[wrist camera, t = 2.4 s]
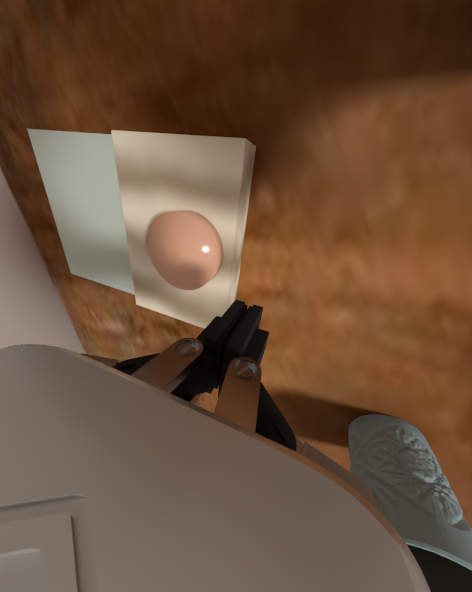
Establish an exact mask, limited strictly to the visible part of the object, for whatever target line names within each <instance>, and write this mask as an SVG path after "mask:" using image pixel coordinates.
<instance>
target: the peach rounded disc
mask: <svg viewBox="0 0 472 592" xmlns="http://www.w3.org/2000/svg"><path fill="white" fill-rule="evenodd" d="M147 246H148V252H149V256H150V259H151V261H152V263H153V265H154V267H155V269H156V270H157V272H158V273H159V274H160V276H161V277H162V278H163V279H164V280H165V281H167V282H168V283H169V284H171V285H172V286H174V287H176V288H179V289H182V290H196V289H199V288H201V287H202V286H204V285H205V284H207V283H208V282H209V281H211V280H212V279H213V278H214V277H215V276H216V275H217V274H218V273H219V271H220V269H221V266H222V263H223V253H224V252H223V245H222V241H221V238H220V236H219V234H218V232H217V230H216V228H215V227H214V226H213V224H212V223H211V222H210V221H209V220H208V219H207V218H205V217H204V216H203V215H201V214H199V213H197V212H194V211H190V210H180V211H169V212H165V213H163V214H161V215H159V216H158V217H157V218H156V219H155V220H154V221H153V222H152V224H151V226H150V228H149V232H148V237H147Z"/></svg>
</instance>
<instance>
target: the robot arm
mask: <svg viewBox="0 0 472 592" xmlns="http://www.w3.org/2000/svg"><path fill="white" fill-rule="evenodd" d="M262 311H263V307H260V306H257V305H253V307H251V306H249V308H248V309H247V305H245V302H243V301H239V300H235V301H234V302H233V303H232V305H231V306H230V307H229V308H228V309H227V311H226V312H225V313H224V314H223V315H222V317H219V316H216V317H215V318H214V319H213V320H212V321H211V322H210V324H209V325H208V326H207V327H206V328H205V329H204V330H203V331H202V333H201V334H200V335H199V336H198V337H197V338H196V339H195V338H183V339H179V340H178V341H176V342H175V343H173V344H172V345H171V346H169V347H168V348H167V349H165V350H164V351H162V352H161V353H158V354H153V355H148V356H143V357H138V358H133V359H128V360H125V361H122V362H120V363H119V360H116V359H110V358H104V357H99V356H93V355H87V354H78V353H76V352H73V351H70V350H67V349H62V348H59V347H53V346H48V345H35V344H25V345H14V346H9V347H5V348H3V349H0V592H431V591H430V588H429V586H428V584H427V582H426V580H425V577H424V575H423V573H422V571H421V569H420V567H419V565H418V563H417V561H416V559H415V558H414V556H413V554H412V552H411V550H410V549H409V547H408V546H407V544H406V543H405V541H404V540H403V539H402V537H401V536H400V535H399V534H398V532H397V531H396V530H395V529H394V527H393V526H392V525H391V524H390V523H389V522H388V521H387V520H386V518H385V517H384V516H383V515H382V514H381V513H380V512H379V506H378V504H377V502H376V499H375V497H374V495H373V494H372V492H371V491H370V490H369V488H368V487H367V485H365V484H364V483H363V482H362V481H361V480H360V479H359V478H357V477H356V476H354V475H353V474H351V473H350V472H349V471H347V470H346V469H344V468H343V467H341V466H340V465H339V464H337V463H336V462H334V461H333V460H331V459H330V458H328V457H327V456H326V455H324V454H323V453H321V452H320V451H318V450H317V449H315V448H314V447H313V446H311V445H310V444H308V443H307V442H305V443H304V444H303V443H302V442H300V441H299V440H298V439H296V438H295V435H294V433H293V431H292V430H291V428H290V426H289V425H288V423H287V422H286V420H285V419H284V417H283V416H282V414H281V412H280V411H279V409H278V408H277V406H276V405H275V403H274V402H273V400H272V398H271V397H270V395H269V394H268V392H267V391H266V389H265V388H264V386H263V384H262V383H261V368H260V363H261V360H262V357H263V354H264V350H265V347H266V343H267V339H268V335H269V332H267V331H264V330H261V329H259V324H260V320H261V315H262ZM218 386H219V392H218V401H217V405H216V408H215V411H214V413H212V412H210V411H207V410H205V409H203V408H201V407H199V406H196V405H194V404H195V403H196V401H197V400H198V398H199V397H200V394H201V393H204V392H208V393H210V394H211V392H212V390H213V388H216V389H217V388H218Z"/></svg>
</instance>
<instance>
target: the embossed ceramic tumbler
mask: <svg viewBox="0 0 472 592" xmlns="http://www.w3.org/2000/svg"><path fill="white" fill-rule="evenodd" d="M348 440H349V454H350V459H351V466H350V473H351V474H353V475H354V476H356V477H357V478H359V479H360V480H361V481H362V482H363V483H364V484H365V485H367V487H368V488H369V490H370V491H371V492H372V494H373V495H374V497H375V499H376V502H377V504H378V506H379V512H380V513H381V514H382V515H383V516H384V517H385V518H386V520H387V521H388V522H389V523H390V524H391V525H392V526H393V527H394V529H395V530H396V531H397V532H398V534H399V535H400V536H401V537H402V539H403V540H404V541H405V543H406V544H407V546H408V547H409V549H410V550H411V552H412V554H413V556H414V558H415V559H416V561H417V563H418V565H419V567H420V569H421V571H422V573H423V575H424V577H425V580H426V582H427V584H428V586H429V588H430V591H431V592H472V528H471V526H470V525H469V523H468V522H467V521H466V520H465V518H464V517H463V515H462V509H461V507H460V505H459V502H458V500H457V498H456V496H455V494H454V492H453V491H452V489H451V488H450V485H449V482H448V480H447V478H446V476H445V475H444V474H443V473H442V471H441V468H440V466H439V464H438V462H437V460H436V458H435V456H434V454H433V452H432V450H431V448H430V446H429V444H428V442H427V440H426V438H425V437H424V436H423V434H422V433H421V432H420V431H419V430H418V429H417V428H416V427H415V426H413V425H412V424H410V423H408V422H406V421H404V420H402V419H399V418H396V417H393V416H389V415H382V414H368V415H363V416H360V417H358V418H356V419H354V420H353V421H352V422H351V423H350V425H349V429H348Z"/></svg>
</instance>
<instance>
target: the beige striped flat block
mask: <svg viewBox="0 0 472 592" xmlns="http://www.w3.org/2000/svg"><path fill="white" fill-rule="evenodd" d="M111 133H112V139H113V146H114V153H115V160H116V167H117V174H118V181H119V188H120V195H121V202H122V208H123V215H124V222H125V229H126V236H127V243H128V250H129V257H130V264H131V271H132V277H133V284H134V291H135V298H136V305H139V306H142V307H145V308H148V309H151V310H154V311H156V312H159V313H162V314H165V315H168V316H171V317H174V318H176V319H179V320H182V321H185V322H188V323H191V324H194V325H196V326H199V327H202V328H206V327H207V326H208V325H209V324H210V322H211V321H212V320H213V319H214V318H215V317H216V316H219V317H222V315H223V314H224V313H225V312H226V311H227V309H228V308H229V307H230V306H231V305H232V303H233V302H234V301H235V300H236V294H237V287H238V279H239V272H240V264H241V257H242V249H243V242H244V234H245V227H246V219H247V212H248V204H249V197H250V189H251V182H252V174H253V167H254V159H255V152H256V146H255V145H253V144H252V143H251V142H250V141H248V140H247V139H246V138H232V137H215V136H199V135H183V134H166V133H150V132H133V131H117V130H111ZM180 210H190V211H194V212H197V213H199V214H201V215H203V216H204V217H205V218H207V219H208V220H209V221H210V222H211V223H212V224H213V226H214V227H215V228H216V230H217V232H218V234H219V236H220V238H221V241H222V245H223V252H224V253H223V263H222V266H221V269H220V271H219V273H218V274H217V275H216V276H215V277H214V278H213V279H212V280H211V281H209V282H208V283H207V284H205V285H204V286H202V287H201V288H199V289H196V290H182V289H179V288H176V287H174V286H172V285H171V284H169V283H168V282H167V281H165V280H164V279H163V278H162V277H161V276H160V274H159V273H158V272H157V270H156V269H155V267H154V265H153V263H152V261H151V259H150V256H149V252H148V246H147V237H148V232H149V228H150V226H151V224H152V222H153V221H154V220H155V219H156V218H157V217H158V216H159V215H161V214H163V213H165V212H169V211H180Z"/></svg>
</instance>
